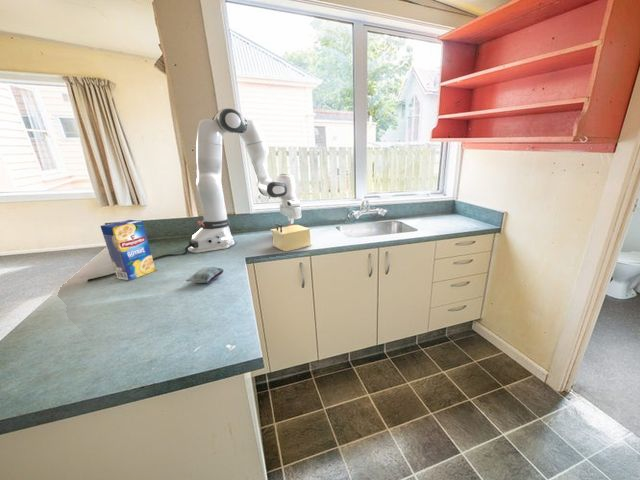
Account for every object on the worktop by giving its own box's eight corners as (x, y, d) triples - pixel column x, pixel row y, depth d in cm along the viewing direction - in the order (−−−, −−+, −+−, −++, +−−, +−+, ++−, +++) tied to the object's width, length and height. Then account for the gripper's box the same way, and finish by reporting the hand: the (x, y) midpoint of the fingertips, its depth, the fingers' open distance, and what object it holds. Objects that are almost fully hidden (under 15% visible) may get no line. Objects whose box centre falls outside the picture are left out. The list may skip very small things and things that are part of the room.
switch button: (290, 229, 182) (289, 226, 182) (287, 228, 185) (286, 225, 184) (295, 228, 185) (295, 225, 184) (292, 227, 187) (292, 224, 187)
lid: (281, 235, 151) (280, 227, 149) (270, 230, 159) (269, 222, 157) (309, 230, 162) (309, 222, 160) (297, 225, 170) (297, 218, 168)
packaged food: (187, 286, 115) (184, 274, 113) (205, 273, 126) (203, 263, 124) (209, 287, 115) (207, 275, 113) (225, 274, 126) (223, 264, 124)
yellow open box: (284, 251, 154) (283, 235, 151) (273, 246, 163) (271, 230, 159) (310, 245, 165) (309, 230, 162) (298, 240, 173) (297, 225, 170)
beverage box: (156, 270, 128) (142, 221, 121) (129, 280, 119) (112, 227, 111) (144, 268, 130) (130, 219, 123) (116, 278, 120) (99, 225, 113)
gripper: (276, 199, 184) (278, 221, 189) (292, 204, 170) (294, 227, 175) (285, 198, 188) (287, 219, 193) (302, 203, 175) (304, 225, 179)
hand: (291, 223), depth 184 cm, fingers closed
